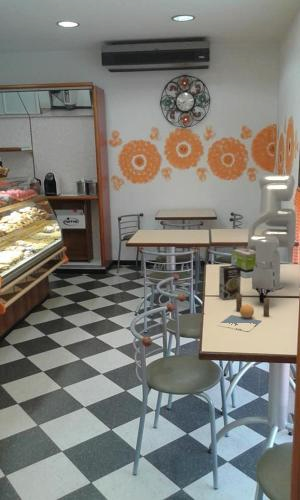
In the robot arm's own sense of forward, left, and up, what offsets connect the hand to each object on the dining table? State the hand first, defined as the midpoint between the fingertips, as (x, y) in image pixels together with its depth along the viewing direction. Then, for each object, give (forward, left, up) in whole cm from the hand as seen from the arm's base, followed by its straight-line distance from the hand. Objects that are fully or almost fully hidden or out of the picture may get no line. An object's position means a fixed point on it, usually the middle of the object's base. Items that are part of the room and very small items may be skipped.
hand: (262, 302), depth 201 cm
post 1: (+13, -6, -2) cm, 15 cm away
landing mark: (+27, 0, -2) cm, 27 cm away
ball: (+19, 0, +2) cm, 19 cm away
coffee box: (-3, -18, -2) cm, 19 cm away
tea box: (-48, -29, -2) cm, 56 cm away
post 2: (+13, +6, -2) cm, 15 cm away
